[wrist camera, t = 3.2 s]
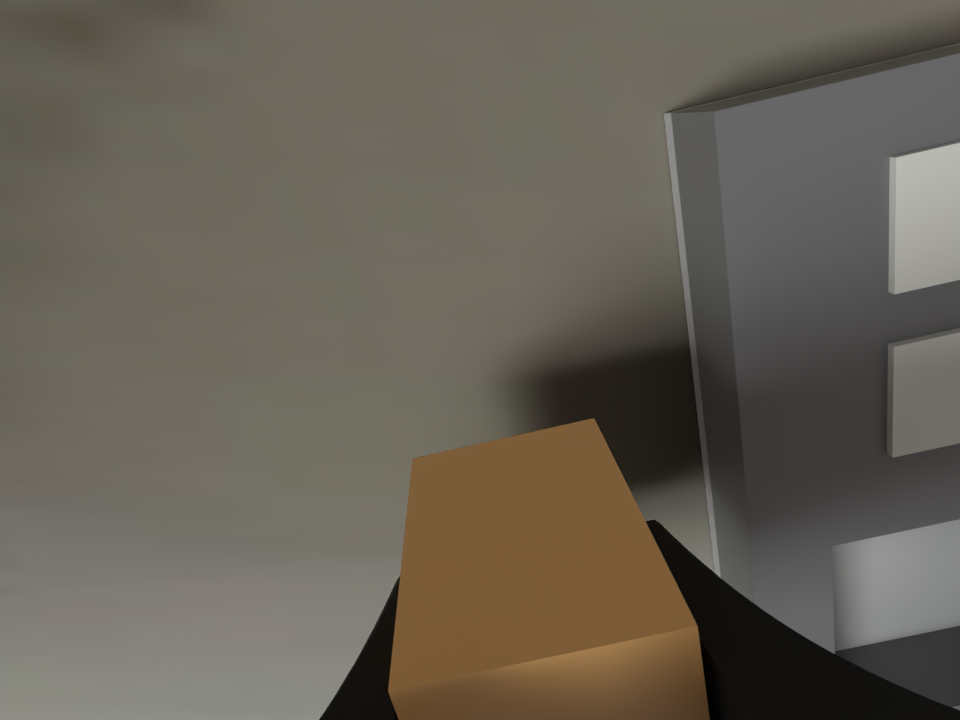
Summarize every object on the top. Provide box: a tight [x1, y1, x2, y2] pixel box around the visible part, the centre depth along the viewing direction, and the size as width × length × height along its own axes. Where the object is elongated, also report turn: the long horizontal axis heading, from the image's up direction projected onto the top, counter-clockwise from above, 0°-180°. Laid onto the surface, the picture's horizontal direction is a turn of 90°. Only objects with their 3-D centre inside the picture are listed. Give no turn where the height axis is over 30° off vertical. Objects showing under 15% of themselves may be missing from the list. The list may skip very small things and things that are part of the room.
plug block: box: [388, 418, 710, 720], centre depth 12 cm, size 4×5×6 cm
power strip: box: [664, 43, 960, 710], centre depth 17 cm, size 10×20×3 cm, turn 13°
